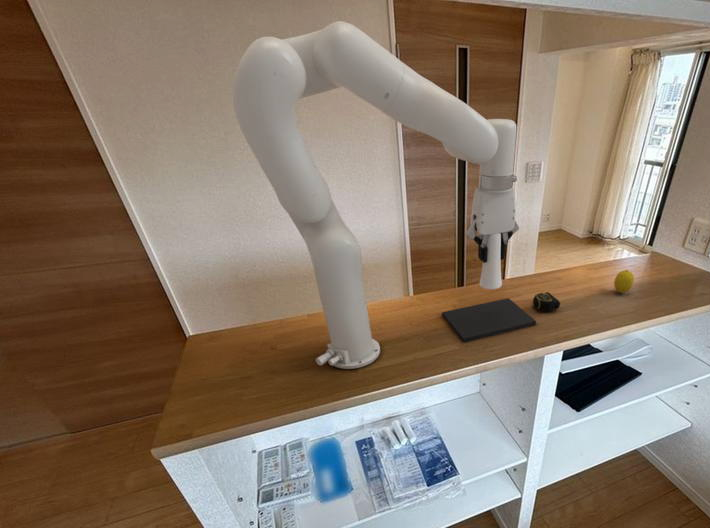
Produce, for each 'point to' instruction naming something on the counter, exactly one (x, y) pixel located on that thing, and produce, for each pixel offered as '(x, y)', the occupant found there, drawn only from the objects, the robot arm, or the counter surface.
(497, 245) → the cosmetic bottle
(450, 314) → the mat
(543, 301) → the tape measure
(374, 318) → the counter surface
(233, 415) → the counter surface
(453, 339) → the counter surface
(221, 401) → the counter surface
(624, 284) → the lemon
